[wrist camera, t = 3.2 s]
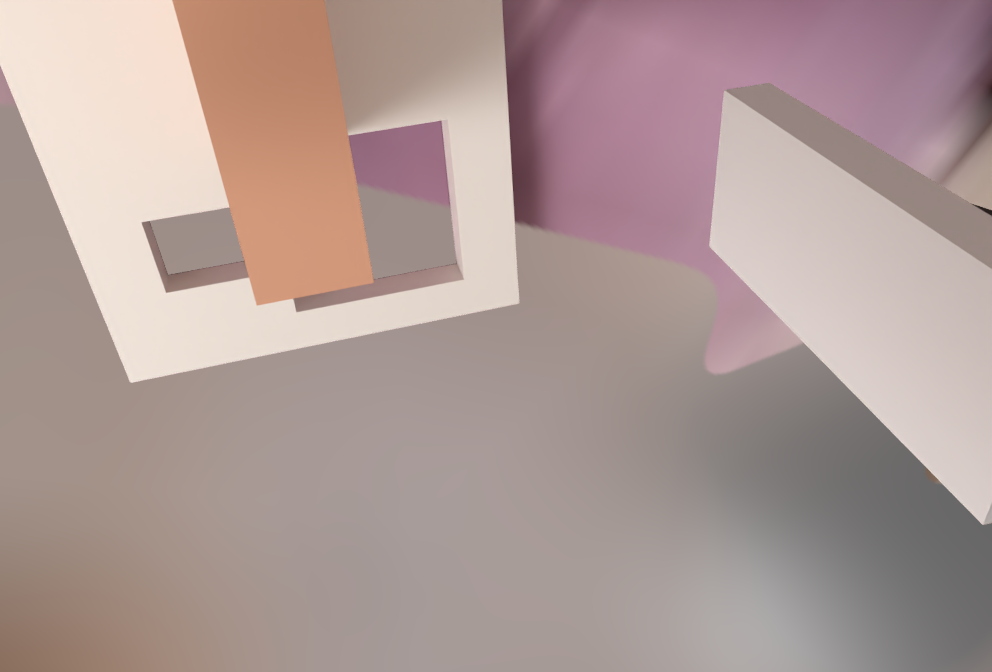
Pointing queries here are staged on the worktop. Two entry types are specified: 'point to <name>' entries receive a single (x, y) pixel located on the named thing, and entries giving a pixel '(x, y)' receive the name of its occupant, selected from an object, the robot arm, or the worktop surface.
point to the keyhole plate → (173, 170)
